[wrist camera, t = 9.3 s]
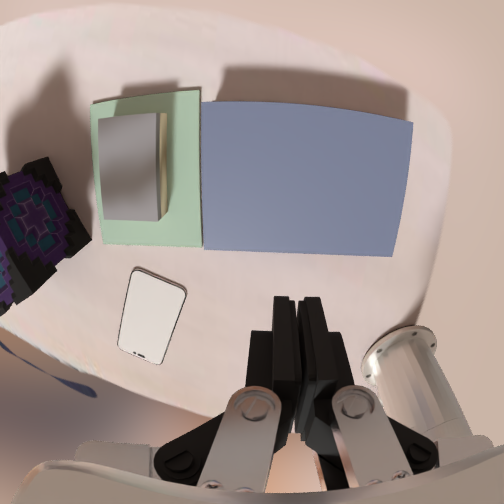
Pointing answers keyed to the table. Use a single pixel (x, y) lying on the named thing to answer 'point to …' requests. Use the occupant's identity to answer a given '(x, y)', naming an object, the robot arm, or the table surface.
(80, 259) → the table surface
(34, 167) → the energy cube
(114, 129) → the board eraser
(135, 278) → the smartphone
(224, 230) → the textbook
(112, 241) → the mat
